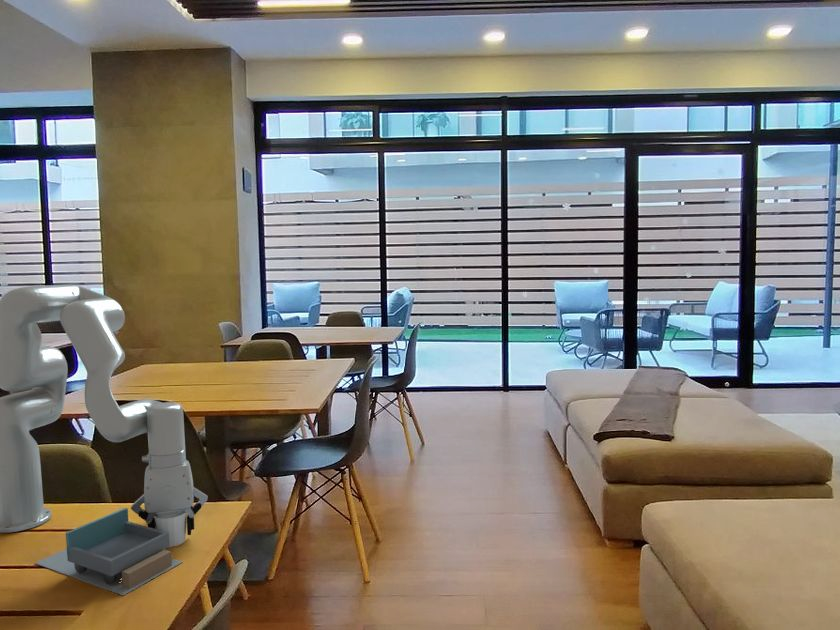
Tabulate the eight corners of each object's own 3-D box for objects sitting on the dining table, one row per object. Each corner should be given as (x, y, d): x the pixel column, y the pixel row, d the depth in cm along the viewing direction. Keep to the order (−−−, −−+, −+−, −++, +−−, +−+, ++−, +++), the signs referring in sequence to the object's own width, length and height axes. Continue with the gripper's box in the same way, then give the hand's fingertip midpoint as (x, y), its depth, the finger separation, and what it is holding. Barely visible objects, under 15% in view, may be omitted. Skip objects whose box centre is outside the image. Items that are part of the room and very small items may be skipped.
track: (35, 563, 130) (33, 549, 129) (96, 536, 142) (95, 523, 142) (123, 595, 117) (122, 579, 116) (182, 562, 129) (181, 548, 129)
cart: (68, 572, 125) (65, 532, 124) (127, 544, 137) (125, 507, 136) (112, 588, 118) (109, 546, 118) (170, 557, 130) (168, 519, 130)
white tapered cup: (177, 549, 135) (175, 519, 134) (149, 547, 136) (147, 516, 136) (194, 535, 142) (192, 506, 141) (167, 533, 143) (166, 504, 142)
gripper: (122, 468, 131) (127, 548, 133) (208, 459, 136) (212, 536, 138) (127, 457, 138) (132, 534, 140) (209, 449, 143) (212, 522, 145)
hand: (171, 534), depth 139 cm, fingers open, 6 cm apart
